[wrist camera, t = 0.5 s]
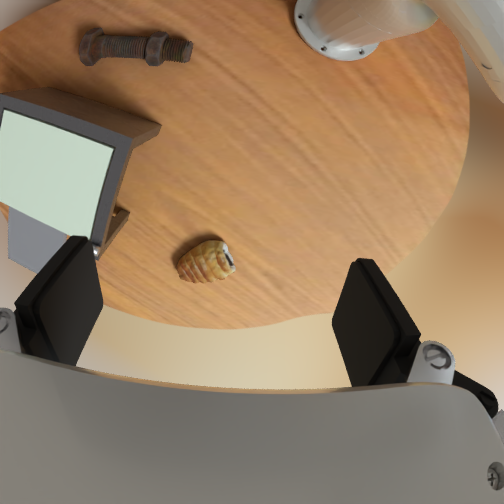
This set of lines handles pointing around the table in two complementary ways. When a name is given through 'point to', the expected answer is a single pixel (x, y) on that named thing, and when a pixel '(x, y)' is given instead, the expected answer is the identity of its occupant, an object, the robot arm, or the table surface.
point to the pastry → (206, 263)
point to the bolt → (133, 48)
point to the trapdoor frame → (97, 127)
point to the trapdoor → (48, 185)
